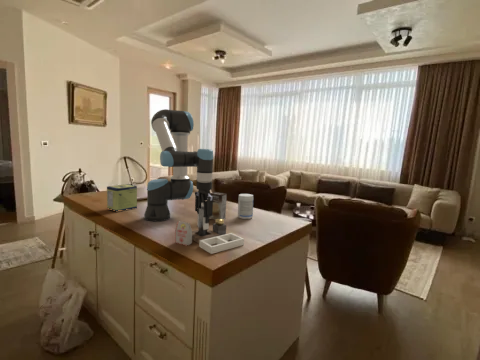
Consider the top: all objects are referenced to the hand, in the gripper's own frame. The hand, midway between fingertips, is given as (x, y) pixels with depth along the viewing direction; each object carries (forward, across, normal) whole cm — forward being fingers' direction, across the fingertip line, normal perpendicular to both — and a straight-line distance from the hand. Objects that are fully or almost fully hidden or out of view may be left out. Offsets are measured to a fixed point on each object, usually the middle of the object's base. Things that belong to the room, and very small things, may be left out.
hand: (202, 227), depth 132 cm
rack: (+5, -14, -1) cm, 15 cm away
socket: (+5, 0, -3) cm, 6 cm away
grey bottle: (+4, 0, 0) cm, 4 cm away
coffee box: (+5, +23, -25) cm, 34 cm away
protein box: (+6, +74, +16) cm, 76 cm away
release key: (+4, 0, -10) cm, 11 cm away
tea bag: (+5, -2, +12) cm, 13 cm away
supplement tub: (+5, +16, -42) cm, 45 cm away
